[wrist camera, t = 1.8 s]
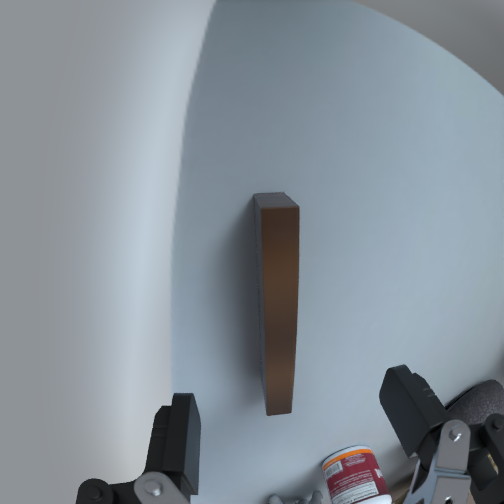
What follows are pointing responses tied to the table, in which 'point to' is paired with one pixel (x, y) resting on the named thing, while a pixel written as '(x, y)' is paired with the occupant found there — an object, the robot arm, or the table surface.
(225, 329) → the table surface
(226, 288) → the table surface
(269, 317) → the stick
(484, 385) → the teapot
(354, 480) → the pill bottle
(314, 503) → the gray elephant figurine
